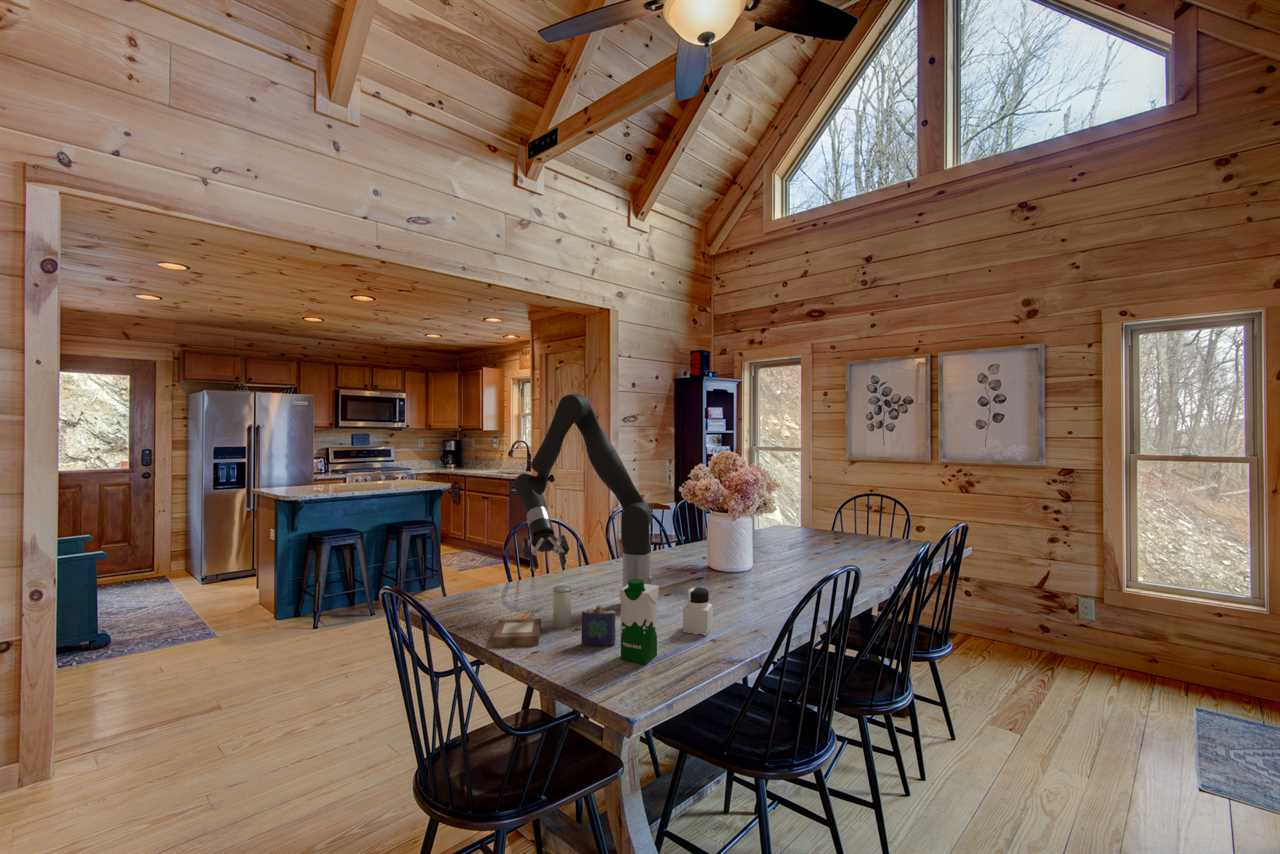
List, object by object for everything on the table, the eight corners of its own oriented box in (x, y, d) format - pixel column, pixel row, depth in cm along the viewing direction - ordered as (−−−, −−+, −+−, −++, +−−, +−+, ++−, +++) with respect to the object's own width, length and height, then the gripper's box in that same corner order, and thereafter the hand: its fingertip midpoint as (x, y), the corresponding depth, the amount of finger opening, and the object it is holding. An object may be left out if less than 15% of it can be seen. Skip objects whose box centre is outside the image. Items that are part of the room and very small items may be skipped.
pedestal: (541, 627, 172) (541, 618, 172) (538, 645, 158) (538, 635, 158) (499, 628, 171) (499, 619, 171) (492, 646, 157) (492, 637, 157)
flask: (615, 643, 161) (615, 603, 160) (614, 647, 158) (615, 607, 157) (582, 642, 161) (582, 603, 161) (580, 646, 158) (580, 606, 158)
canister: (571, 622, 177) (571, 585, 177) (571, 628, 172) (571, 590, 172) (553, 622, 176) (553, 585, 176) (552, 629, 171) (552, 591, 171)
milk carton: (615, 661, 148) (616, 581, 148) (631, 648, 156) (631, 573, 156) (647, 667, 145) (648, 585, 144) (662, 654, 153) (662, 577, 153)
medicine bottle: (712, 627, 173) (712, 586, 173) (707, 636, 166) (707, 593, 166) (688, 625, 175) (689, 584, 175) (682, 633, 168) (682, 591, 168)
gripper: (520, 518, 189) (530, 562, 178) (563, 515, 195) (575, 557, 185) (516, 532, 193) (525, 575, 183) (558, 529, 200) (569, 570, 190)
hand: (550, 566), depth 184 cm, fingers open, 8 cm apart
